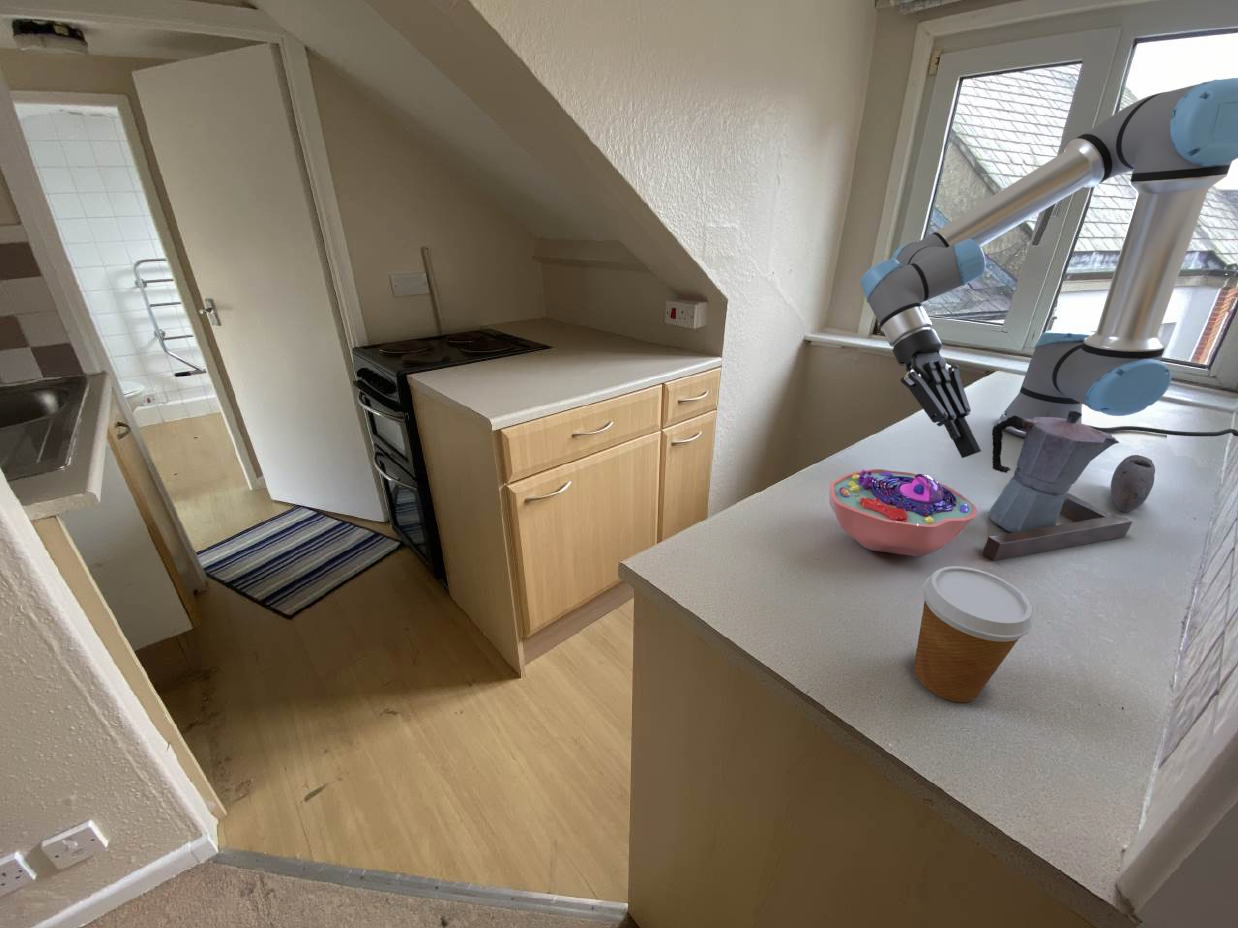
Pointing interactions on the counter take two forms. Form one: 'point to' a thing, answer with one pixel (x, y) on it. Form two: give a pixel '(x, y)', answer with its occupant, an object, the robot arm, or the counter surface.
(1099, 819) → the counter surface
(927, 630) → the disposable coffee cup
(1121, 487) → the perforated stone tool
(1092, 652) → the counter surface
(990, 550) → the corner guide
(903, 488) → the cell model
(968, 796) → the counter surface
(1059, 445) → the moka pot
